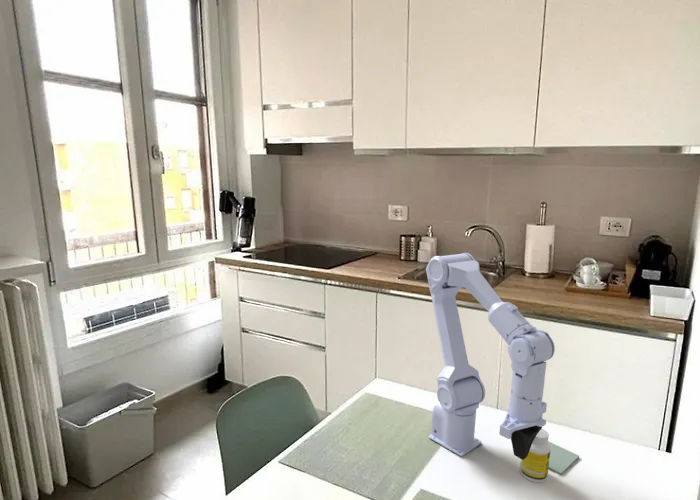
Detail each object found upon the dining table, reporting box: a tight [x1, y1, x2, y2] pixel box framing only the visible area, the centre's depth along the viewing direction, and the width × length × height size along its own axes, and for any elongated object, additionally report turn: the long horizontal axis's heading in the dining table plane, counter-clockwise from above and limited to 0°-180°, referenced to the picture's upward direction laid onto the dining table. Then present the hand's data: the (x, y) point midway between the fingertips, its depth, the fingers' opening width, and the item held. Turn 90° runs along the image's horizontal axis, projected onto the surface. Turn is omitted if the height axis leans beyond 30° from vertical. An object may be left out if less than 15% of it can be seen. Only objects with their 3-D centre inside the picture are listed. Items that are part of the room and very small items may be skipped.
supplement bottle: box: [519, 428, 551, 483], centre depth 97 cm, size 5×5×10 cm
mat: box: [548, 440, 580, 476], centre depth 103 cm, size 8×9×1 cm
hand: (520, 456), depth 92 cm, fingers closed
